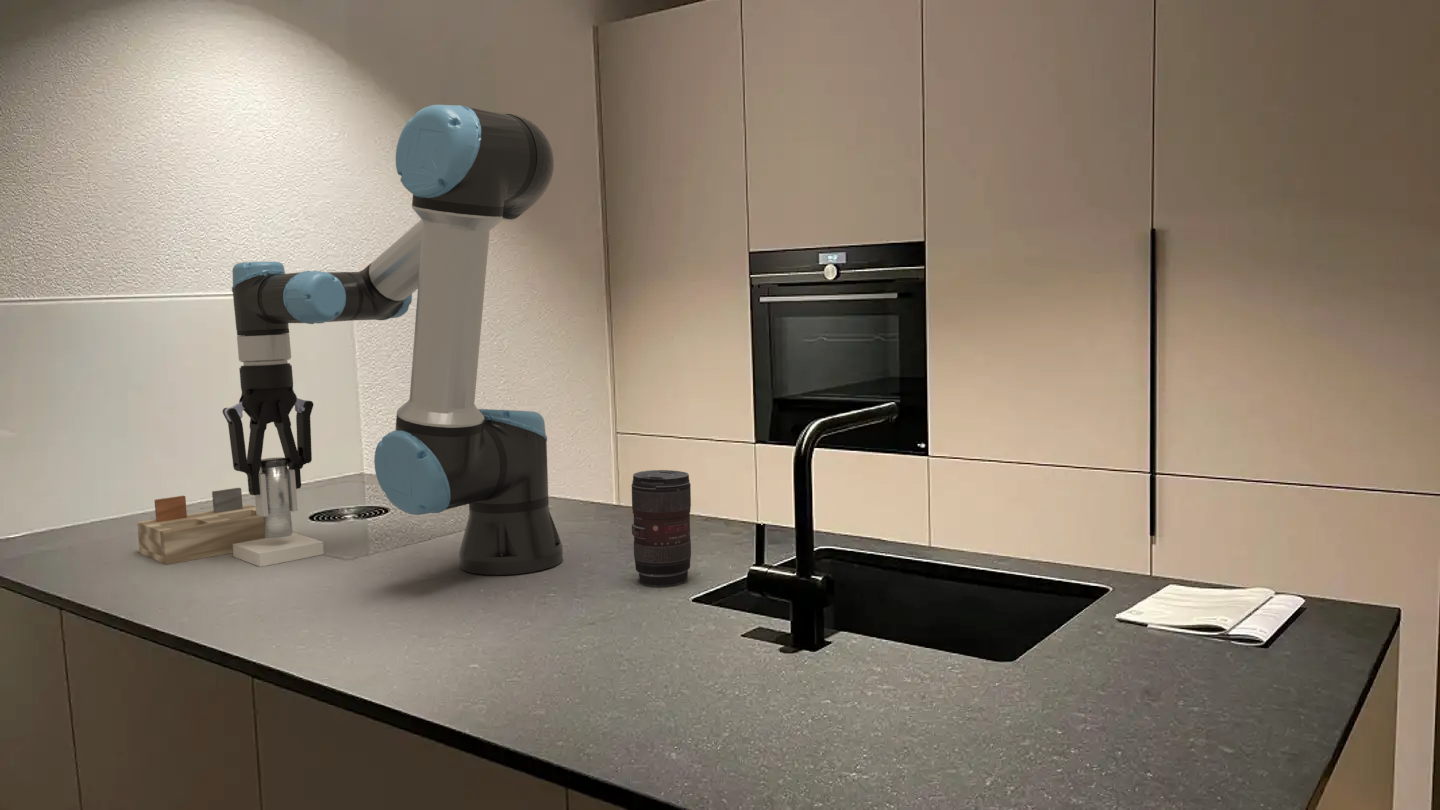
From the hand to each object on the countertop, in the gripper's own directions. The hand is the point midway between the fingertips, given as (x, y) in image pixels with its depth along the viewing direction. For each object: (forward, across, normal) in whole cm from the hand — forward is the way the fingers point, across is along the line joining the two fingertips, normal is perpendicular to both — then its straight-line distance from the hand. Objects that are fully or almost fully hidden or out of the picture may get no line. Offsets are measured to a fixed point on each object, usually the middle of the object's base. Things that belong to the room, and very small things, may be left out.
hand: (277, 512), depth 175 cm
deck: (+7, 0, 0) cm, 7 cm away
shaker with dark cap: (+4, 0, 0) cm, 4 cm away
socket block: (+7, +5, -14) cm, 17 cm away
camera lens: (+8, -29, +58) cm, 65 cm away
